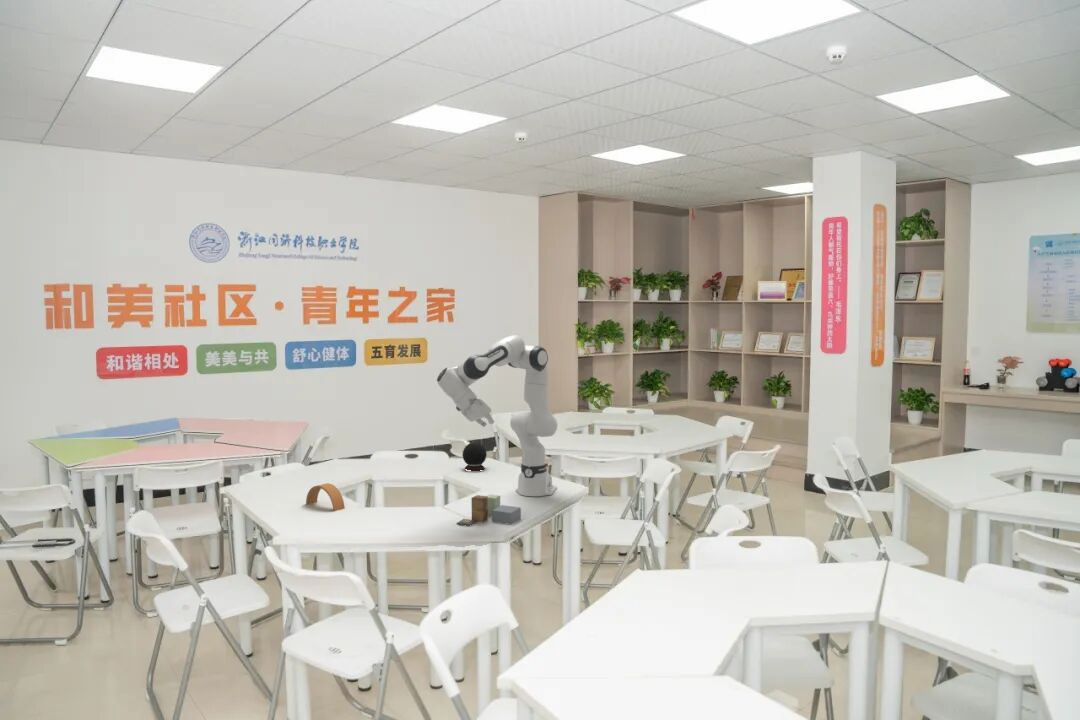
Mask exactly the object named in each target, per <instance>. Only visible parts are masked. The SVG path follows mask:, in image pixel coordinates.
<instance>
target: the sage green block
mask: <svg viewBox="0 0 1080 720" xmlns="http://www.w3.org/2000/svg"><path fill="white" fill-rule="evenodd" d="M487 496H488V517H492V510H494V509H496V508H497V507H499V506H501V495H499V494H488V495H487Z"/></svg>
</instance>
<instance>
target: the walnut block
mask: <svg viewBox="0 0 1080 720" xmlns="http://www.w3.org/2000/svg"><path fill="white" fill-rule="evenodd" d="M471 520H476V523H479V522H482V523H485V522H486V521H488V520H489V516H488V495H478V494H477V495H475V496H473V497H471ZM484 521H485V522H484ZM482 523H481V524H482Z"/></svg>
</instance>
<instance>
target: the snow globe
mask: <svg viewBox="0 0 1080 720" xmlns="http://www.w3.org/2000/svg"><path fill="white" fill-rule="evenodd" d="M487 455H488V454H487V450H486V447H484V445H483V444H482V443H479V442H470V443H468V444H467V445H466V446H465V447H464V448H463V450H462V454H461V456H462V459H463V461H464V463H465V464H466V465H465V467H464V468H465V469H467V470H471V471H480V470H484V469H486V468H485V466H484V465H482V464H484V463H485V462H486V459H487ZM484 471H485V470H484ZM480 472H481V471H480Z"/></svg>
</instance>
